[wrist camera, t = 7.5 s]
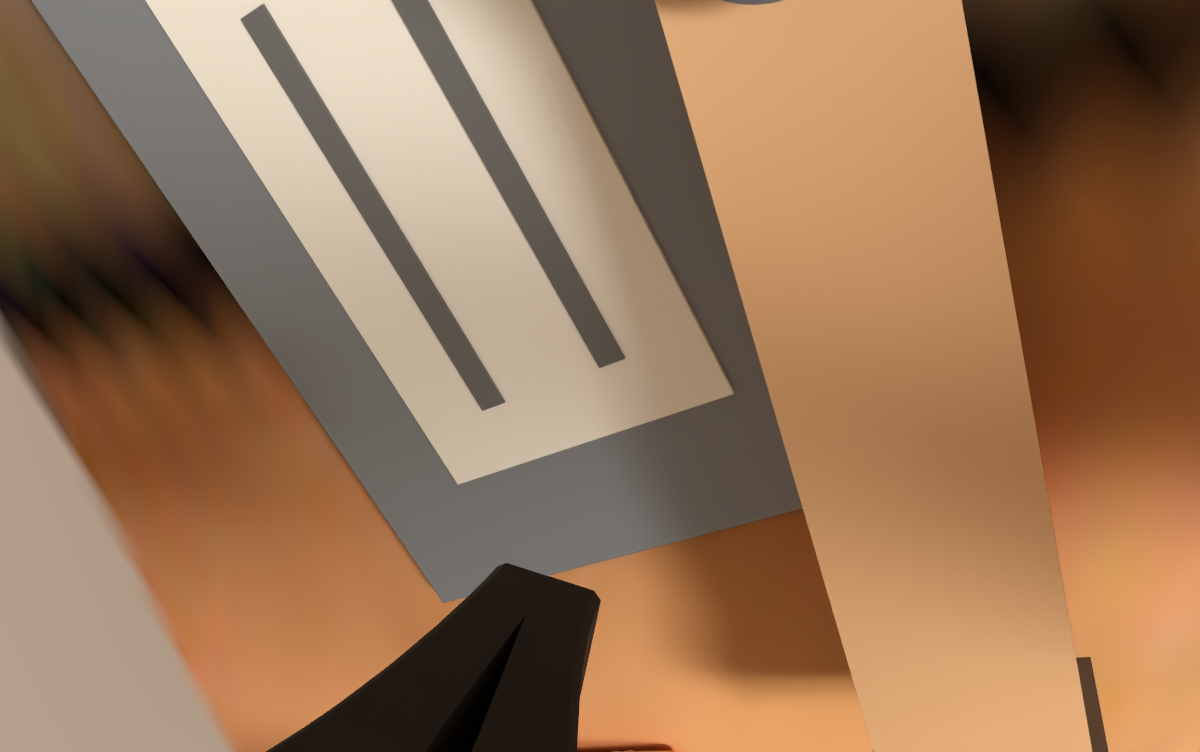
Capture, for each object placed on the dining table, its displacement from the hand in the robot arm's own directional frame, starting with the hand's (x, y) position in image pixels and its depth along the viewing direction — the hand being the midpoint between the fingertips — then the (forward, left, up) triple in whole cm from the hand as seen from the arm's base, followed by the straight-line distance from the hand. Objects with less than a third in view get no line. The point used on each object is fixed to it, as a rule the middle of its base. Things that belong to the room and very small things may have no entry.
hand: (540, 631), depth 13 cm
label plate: (+5, +3, -9) cm, 10 cm away
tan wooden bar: (-1, -5, -8) cm, 9 cm away
